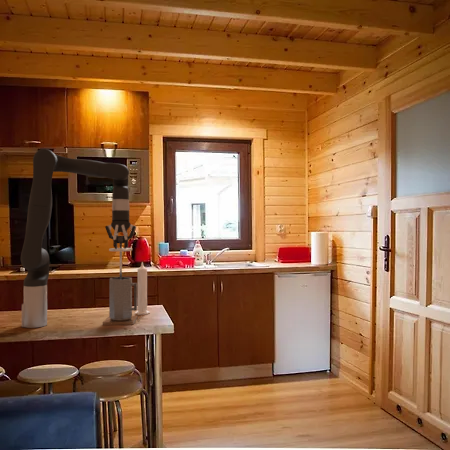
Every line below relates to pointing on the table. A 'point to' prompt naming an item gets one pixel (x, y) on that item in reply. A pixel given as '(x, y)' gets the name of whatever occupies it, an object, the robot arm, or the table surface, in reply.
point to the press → (121, 302)
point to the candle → (142, 291)
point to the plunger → (120, 240)
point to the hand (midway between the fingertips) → (120, 248)
